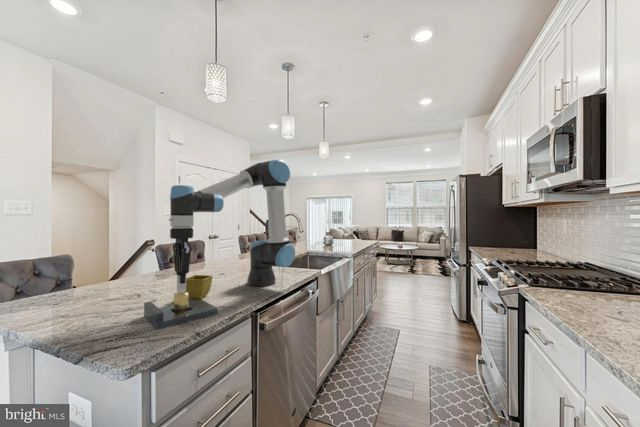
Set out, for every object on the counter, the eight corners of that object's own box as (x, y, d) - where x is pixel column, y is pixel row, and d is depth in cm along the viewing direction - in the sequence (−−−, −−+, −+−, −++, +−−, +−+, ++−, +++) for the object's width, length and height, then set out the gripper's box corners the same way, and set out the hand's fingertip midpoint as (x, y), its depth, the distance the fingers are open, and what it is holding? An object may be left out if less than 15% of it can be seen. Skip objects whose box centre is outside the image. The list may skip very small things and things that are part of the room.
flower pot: (213, 294, 123) (213, 275, 123) (202, 300, 114) (202, 279, 115) (195, 294, 124) (195, 274, 124) (183, 300, 115) (183, 279, 115)
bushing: (185, 311, 101) (186, 290, 101) (190, 315, 97) (190, 293, 97) (172, 315, 97) (172, 293, 97) (176, 318, 94) (176, 295, 94)
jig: (200, 303, 110) (200, 291, 110) (217, 313, 99) (217, 300, 99) (144, 316, 96) (144, 302, 96) (156, 329, 85) (156, 313, 85)
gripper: (165, 227, 100) (164, 290, 99) (176, 228, 91) (176, 297, 90) (186, 226, 105) (186, 286, 105) (199, 227, 96) (198, 293, 95)
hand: (181, 291), depth 97 cm, fingers closed
